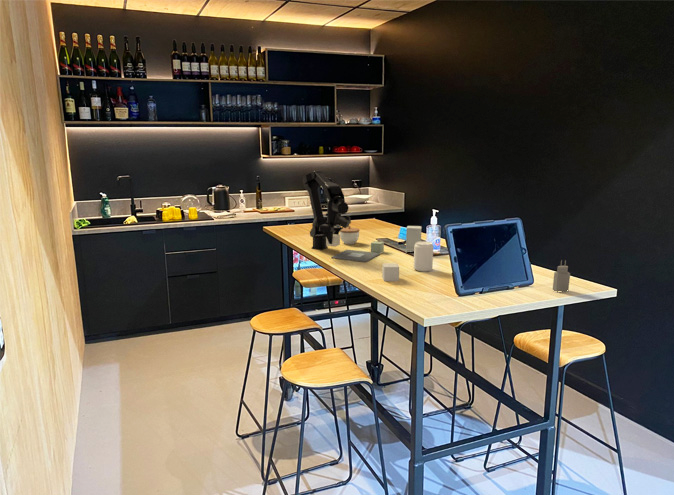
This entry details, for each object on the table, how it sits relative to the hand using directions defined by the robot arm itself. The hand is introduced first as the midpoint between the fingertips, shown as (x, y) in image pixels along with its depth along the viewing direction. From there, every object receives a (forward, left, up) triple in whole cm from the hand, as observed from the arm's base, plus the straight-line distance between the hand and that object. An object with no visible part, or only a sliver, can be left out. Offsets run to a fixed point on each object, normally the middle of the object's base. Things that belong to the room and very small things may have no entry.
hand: (333, 242), depth 247 cm
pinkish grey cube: (+40, -29, -6) cm, 50 cm away
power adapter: (+103, -16, -6) cm, 105 cm away
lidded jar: (-3, +27, -6) cm, 28 cm away
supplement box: (+34, +23, -6) cm, 41 cm away
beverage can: (+48, -9, -6) cm, 49 cm away
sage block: (+18, +14, -6) cm, 23 cm away
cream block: (0, 0, -1) cm, 1 cm away
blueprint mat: (+12, +1, -6) cm, 13 cm away
